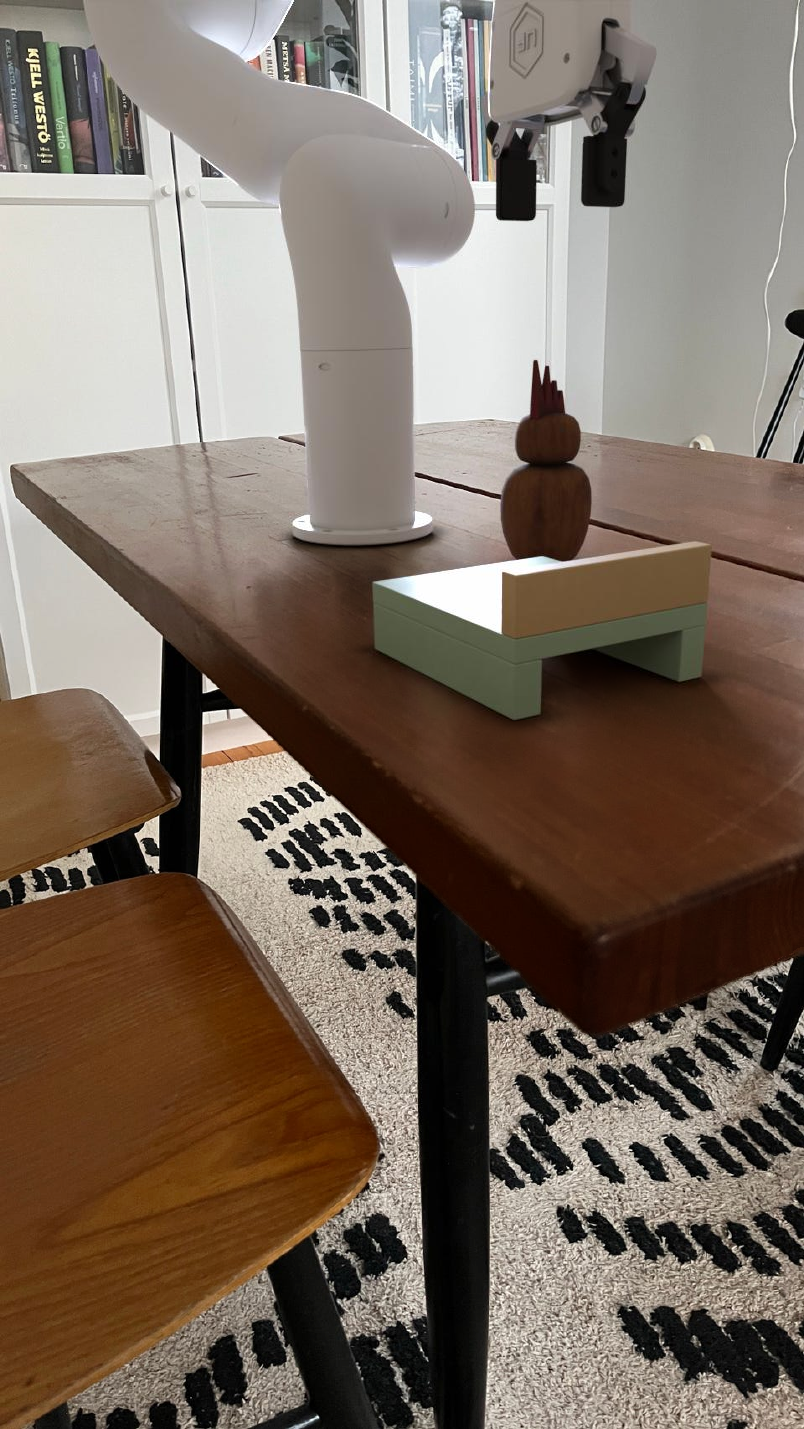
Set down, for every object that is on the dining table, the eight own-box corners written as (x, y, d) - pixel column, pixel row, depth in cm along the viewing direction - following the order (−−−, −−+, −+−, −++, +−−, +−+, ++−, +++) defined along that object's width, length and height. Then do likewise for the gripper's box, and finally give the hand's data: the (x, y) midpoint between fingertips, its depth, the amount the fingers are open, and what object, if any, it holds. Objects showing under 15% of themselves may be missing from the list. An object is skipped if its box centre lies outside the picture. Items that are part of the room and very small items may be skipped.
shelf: (374, 649, 61) (370, 529, 59) (541, 618, 67) (544, 507, 64) (513, 721, 50) (516, 575, 47) (701, 677, 55) (712, 544, 53)
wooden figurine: (529, 574, 78) (533, 361, 73) (487, 560, 83) (489, 359, 78) (602, 563, 81) (612, 358, 76) (558, 551, 86) (565, 356, 81)
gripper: (442, -49, 73) (445, 224, 79) (606, -144, 58) (594, 198, 64) (530, -35, 76) (527, 226, 82) (706, -121, 62) (686, 202, 68)
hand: (557, 213), depth 73 cm, fingers open, 9 cm apart
